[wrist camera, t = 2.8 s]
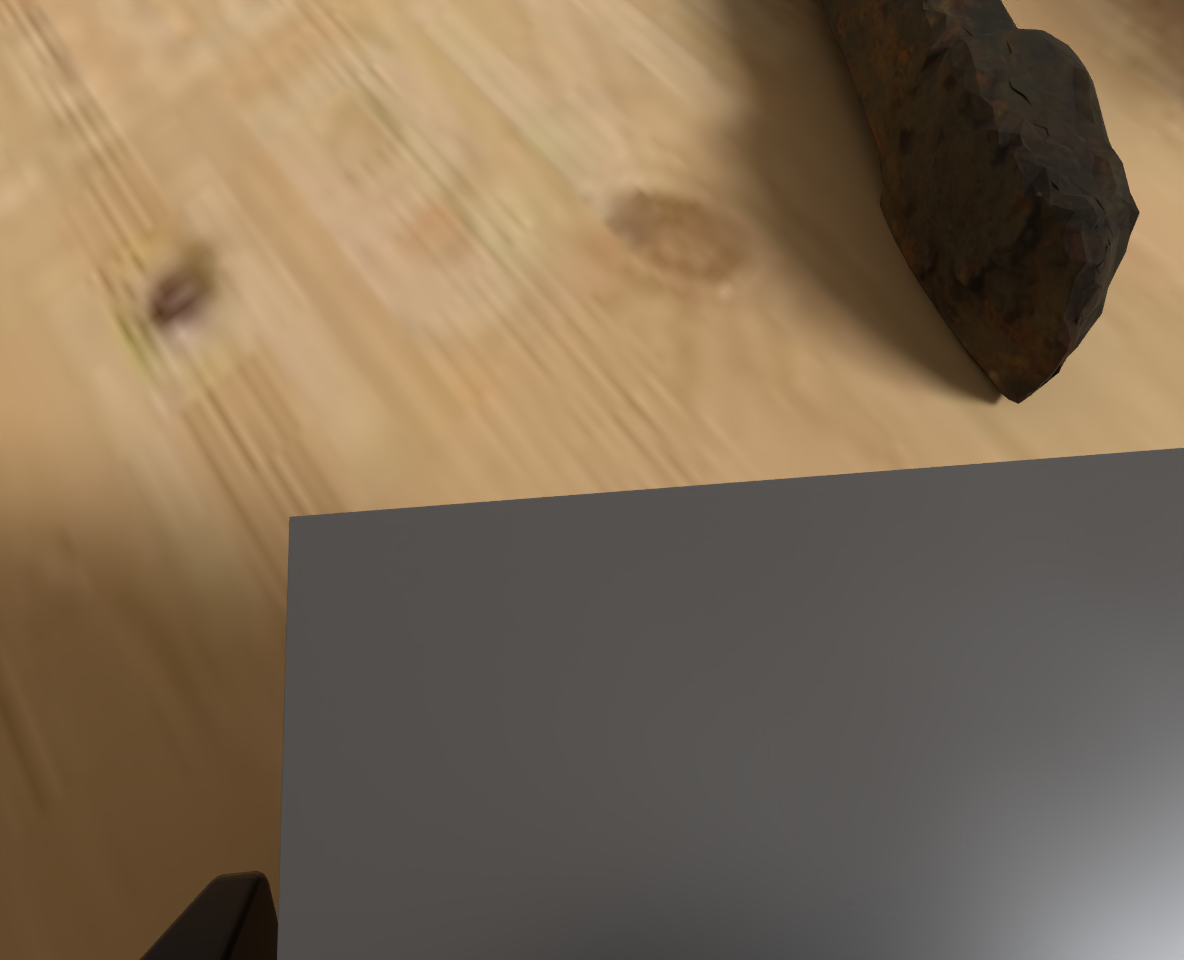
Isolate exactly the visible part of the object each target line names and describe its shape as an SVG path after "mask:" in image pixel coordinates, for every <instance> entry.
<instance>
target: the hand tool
mask: <svg viewBox="0 0 1184 960" xmlns="http://www.w3.org/2000/svg"><path fill="white" fill-rule="evenodd" d="M821 1H822V4H823V6H824V8H825V11H826V14H827V17H828V20H829V24H830V27H831V31H832V33H833V35H834V36H835V38H836V40H837V41H838V43H839V45H840V47H841V50H842V52H843V55H844V57H845V60H846V62H847V65H848V68H849V70H850V73H851V75H852V78H853V80H854V83H855V86H856V89H857V92H858V96H859V99H860V102H861V104H862V107H863V109H864V112H865V114H866V117H867V120H868V122H869V125H870V127H871V130H872V132H873V135H874V137H875V140H876V142H877V145H878V148H879V157H880V165H881V172H882V180H883V192H882V197H881V201H880V206H881V209H882V212H883V214H884V217H885V219H886V222H887V224H888V226H889V228H890V230H891V232H892V235H893V237H894V239H895V241H896V243H897V245H898V246H899V248H900V250H901V252H902V254H903V256H904V258H905V259H906V261H907V263H908V265H909V267H910V269H911V270H912V272H913V273H914V275H915V277H916V278H917V280H918V281H919V283H920V284H921V286H922V287H923V289H924V290H925V292H926V293H927V295H928V296H929V298H930V299H931V301H932V302H933V304H934V305H935V306H936V308H937V309H938V311H939V312H940V314H941V315H942V317H943V318H944V320H945V321H946V323H947V324H948V326H949V327H950V328H951V330H952V331H953V332H954V333H955V335H956V336H957V337H958V338H959V340H960V341H961V342H962V344H963V345H964V347H965V348H966V350H967V351H968V352H969V354H970V355H971V356H972V358H973V359H974V360H975V361H976V362H977V363H978V365H979V366H980V367H981V368H982V369H983V370H984V372H985V373H986V374H987V375H988V376H989V378H990V379H991V380H992V382H993V383H994V384H995V385H996V387H997V388H998V389H999V390H1000V392H1001V393H1002V394H1003V395H1004V396H1005V397H1006V398H1008V399H1009V400H1011V401H1014V402H1016V403H1018V404H1019V403H1020V402H1022V401H1023V400H1025V399H1026V398H1027V397H1029V396H1030V395H1032V394H1033V393H1034V392H1035V391H1036V390H1038V389H1039V388H1040V387H1042V386H1043V385H1044V384H1045V383H1047V382H1048V381H1049V380H1050V379H1051V378H1053V377H1054V376H1055V375H1056V374H1058V373H1059V371H1060V369H1061V367H1062V365H1063V363H1064V362H1065V360H1066V359H1067V357H1068V356H1069V355H1070V354H1071V353H1072V352H1073V351H1074V350H1075V349H1076V348H1077V347H1078V346H1079V344H1080V343H1081V341H1082V340H1083V338H1084V337H1085V335H1086V334H1087V333H1088V331H1089V330H1090V328H1091V327H1092V326H1093V325H1094V323H1095V322H1096V321H1097V319H1098V318H1099V317H1100V315H1101V314H1102V311H1103V307H1104V302H1105V298H1106V294H1107V290H1108V287H1109V285H1110V282H1111V280H1112V278H1113V276H1114V274H1115V272H1116V270H1117V268H1118V266H1119V264H1120V262H1121V260H1122V258H1123V256H1124V254H1125V252H1126V249H1127V245H1128V241H1129V238H1130V235H1131V232H1132V230H1133V228H1134V225H1135V223H1136V220H1137V218H1138V215H1139V210H1138V208H1137V206H1136V204H1135V202H1134V200H1133V197H1132V195H1131V193H1130V190H1129V186H1128V182H1127V178H1126V174H1125V171H1124V167H1123V163H1122V161H1121V160H1120V158H1119V157H1118V155H1117V154H1116V152H1115V151H1114V149H1113V148H1112V147H1111V144H1110V142H1109V139H1108V136H1107V132H1106V129H1105V125H1104V121H1103V118H1102V114H1101V110H1100V106H1099V102H1098V98H1097V94H1096V91H1095V87H1094V84H1093V81H1092V79H1091V77H1090V75H1089V73H1088V71H1087V70H1086V68H1085V66H1084V65H1083V63H1082V62H1081V60H1080V59H1079V57H1078V56H1077V55H1076V54H1075V53H1074V51H1073V50H1072V49H1071V48H1070V47H1069V46H1068V45H1067V44H1065V43H1064V42H1062V41H1060V40H1059V39H1057V38H1055V37H1053V36H1052V35H1050V34H1048V33H1047V32H1045V31H1042V30H1032V29H1018V28H1017V27H1016V25H1015V23H1014V22H1013V20H1012V18H1011V17H1010V15H1009V13H1008V12H1007V10H1006V8H1005V7H1004V5H1003V3H1002V1H1001V0H821Z"/></svg>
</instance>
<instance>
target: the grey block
mask: <svg viewBox="0 0 1184 960" xmlns="http://www.w3.org/2000/svg"><path fill="white" fill-rule="evenodd" d="M277 960H1184V448H1177V449H1164V450H1151V451H1138V452H1125V453H1112V454H1099V455H1086V456H1073V457H1060V458H1047V459H1034V460H1021V461H1009V462H996V463H983V464H970V465H957V466H944V467H931V468H918V469H905V470H892V471H879V472H866V473H853V474H840V475H827V476H814V477H801V478H788V479H775V480H762V481H749V482H737V483H724V484H711V485H698V486H685V487H672V488H659V489H646V490H633V491H620V492H607V493H594V494H581V495H568V496H555V497H542V498H529V499H516V500H503V501H490V502H477V503H464V504H452V505H439V506H426V507H413V508H400V509H387V510H374V511H361V512H348V513H335V514H322V515H309V516H296V517H290V520H289V556H288V591H287V627H286V662H285V698H284V733H283V769H282V805H281V840H280V876H279V911H278V947H277Z"/></svg>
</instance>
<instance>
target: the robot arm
mask: <svg viewBox="0 0 1184 960" xmlns="http://www.w3.org/2000/svg"><path fill="white" fill-rule="evenodd" d="M277 947H278V920H277V916H276V911H275V907H274V903H273V899H272V894H271V890H270V886H269V882H268V880H267V878H266V876H265V875H264V873H262V872H259V871H251V872H242V873H233V874H224V875H220V876H218V877H217V878H215V879H214V880H212V881H211V882H210V883H209V884H208V885H207V886H206V887H205V889H204V890H203V891H202V892H201V893H200V894H199V895H198V896H197V897H196V898H195V900H194V901H193V902H192V903H191V904H190V905H189V906H188V907H187V908H186V909H185V910H184V912H183V913H182V914H181V915H180V916H179V917H178V918H177V919H176V920H175V921H174V923H173V924H172V925H171V926H170V927H169V928H168V929H167V930H166V931H165V932H164V934H163V935H162V936H161V937H160V938H159V939H158V940H157V941H156V942H155V943H154V945H153V946H152V947H151V948H150V949H149V950H148V951H147V952H146V953H145V954H144V955H143V957H142V958H141V959H140V960H277Z"/></svg>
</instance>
